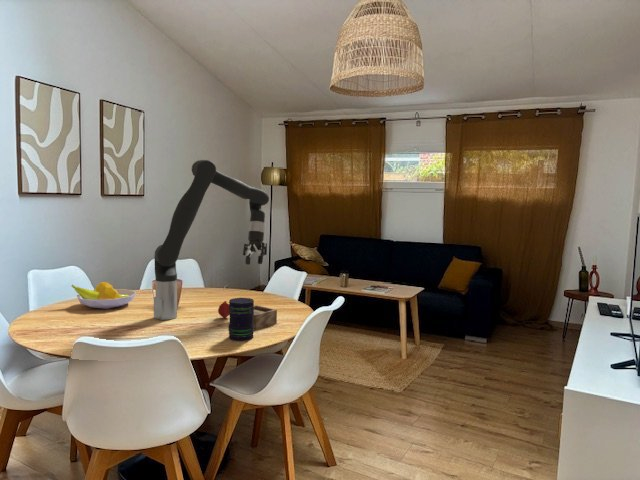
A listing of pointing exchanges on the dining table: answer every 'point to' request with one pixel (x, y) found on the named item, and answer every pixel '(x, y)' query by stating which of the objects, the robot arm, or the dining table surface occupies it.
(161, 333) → the dining table surface
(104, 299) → the fruit bowl
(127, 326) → the dining table surface
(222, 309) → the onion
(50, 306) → the dining table surface
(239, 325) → the storage jar
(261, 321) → the wooden square tray
